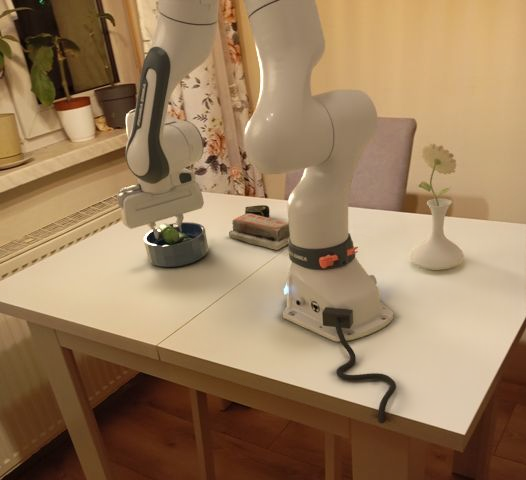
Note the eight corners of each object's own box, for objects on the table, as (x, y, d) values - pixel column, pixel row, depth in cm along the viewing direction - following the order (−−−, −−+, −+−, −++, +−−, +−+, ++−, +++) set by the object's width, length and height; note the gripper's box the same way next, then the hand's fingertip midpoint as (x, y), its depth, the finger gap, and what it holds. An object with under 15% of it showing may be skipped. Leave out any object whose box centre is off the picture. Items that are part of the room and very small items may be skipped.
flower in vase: (474, 267, 121) (485, 146, 108) (425, 279, 119) (431, 158, 106) (441, 246, 132) (447, 134, 118) (396, 256, 130) (397, 144, 116)
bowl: (218, 256, 142) (214, 233, 139) (162, 274, 136) (157, 251, 133) (193, 239, 153) (189, 217, 150) (140, 255, 148) (135, 234, 144)
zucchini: (200, 257, 142) (201, 241, 140) (184, 258, 140) (186, 241, 138) (184, 246, 150) (185, 230, 148) (169, 246, 147) (170, 230, 146)
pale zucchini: (184, 244, 139) (181, 229, 137) (170, 249, 137) (167, 234, 135) (170, 234, 146) (167, 220, 144) (156, 238, 144) (153, 224, 142)
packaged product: (225, 220, 149) (251, 208, 154) (227, 238, 151) (253, 225, 157) (275, 233, 137) (302, 219, 143) (277, 251, 140) (303, 237, 146)
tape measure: (270, 215, 162) (269, 202, 160) (269, 224, 156) (268, 210, 154) (246, 217, 163) (244, 204, 161) (244, 226, 157) (243, 213, 155)
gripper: (118, 193, 127) (133, 250, 135) (201, 171, 135) (210, 227, 142) (110, 187, 132) (125, 243, 140) (190, 166, 140) (200, 220, 147)
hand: (168, 234), depth 141 cm, fingers closed on pale zucchini, 4 cm apart
